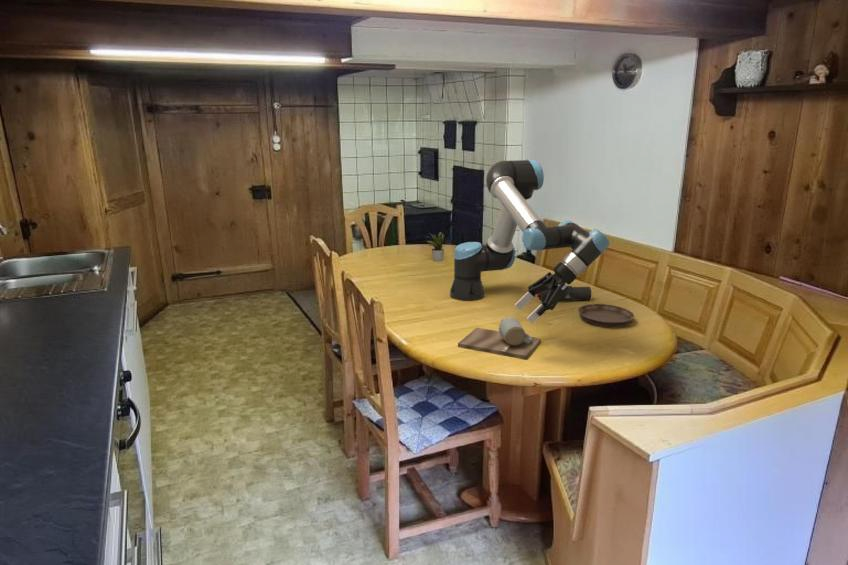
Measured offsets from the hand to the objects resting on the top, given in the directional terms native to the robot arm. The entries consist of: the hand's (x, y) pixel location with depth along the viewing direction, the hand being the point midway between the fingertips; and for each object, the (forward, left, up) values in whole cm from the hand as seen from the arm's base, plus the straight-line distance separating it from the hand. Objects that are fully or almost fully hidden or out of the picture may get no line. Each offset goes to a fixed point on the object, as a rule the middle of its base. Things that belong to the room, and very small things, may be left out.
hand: (523, 314), depth 185 cm
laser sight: (0, +58, -12) cm, 59 cm away
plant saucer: (+21, +41, -12) cm, 47 cm away
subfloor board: (-7, -1, -12) cm, 14 cm away
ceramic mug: (-2, 0, -10) cm, 11 cm away
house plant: (-81, +102, -12) cm, 131 cm away
